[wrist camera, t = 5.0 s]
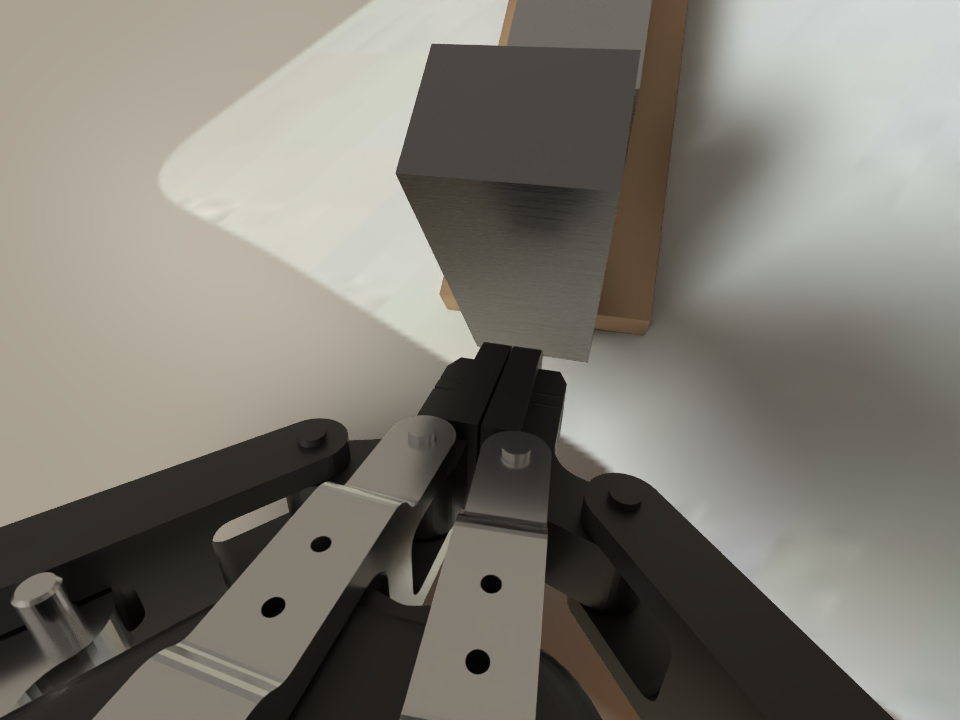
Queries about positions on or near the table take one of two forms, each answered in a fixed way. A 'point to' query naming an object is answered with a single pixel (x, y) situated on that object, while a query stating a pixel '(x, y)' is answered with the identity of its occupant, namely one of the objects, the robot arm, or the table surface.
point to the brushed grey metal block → (521, 184)
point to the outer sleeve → (583, 27)
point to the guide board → (637, 177)
